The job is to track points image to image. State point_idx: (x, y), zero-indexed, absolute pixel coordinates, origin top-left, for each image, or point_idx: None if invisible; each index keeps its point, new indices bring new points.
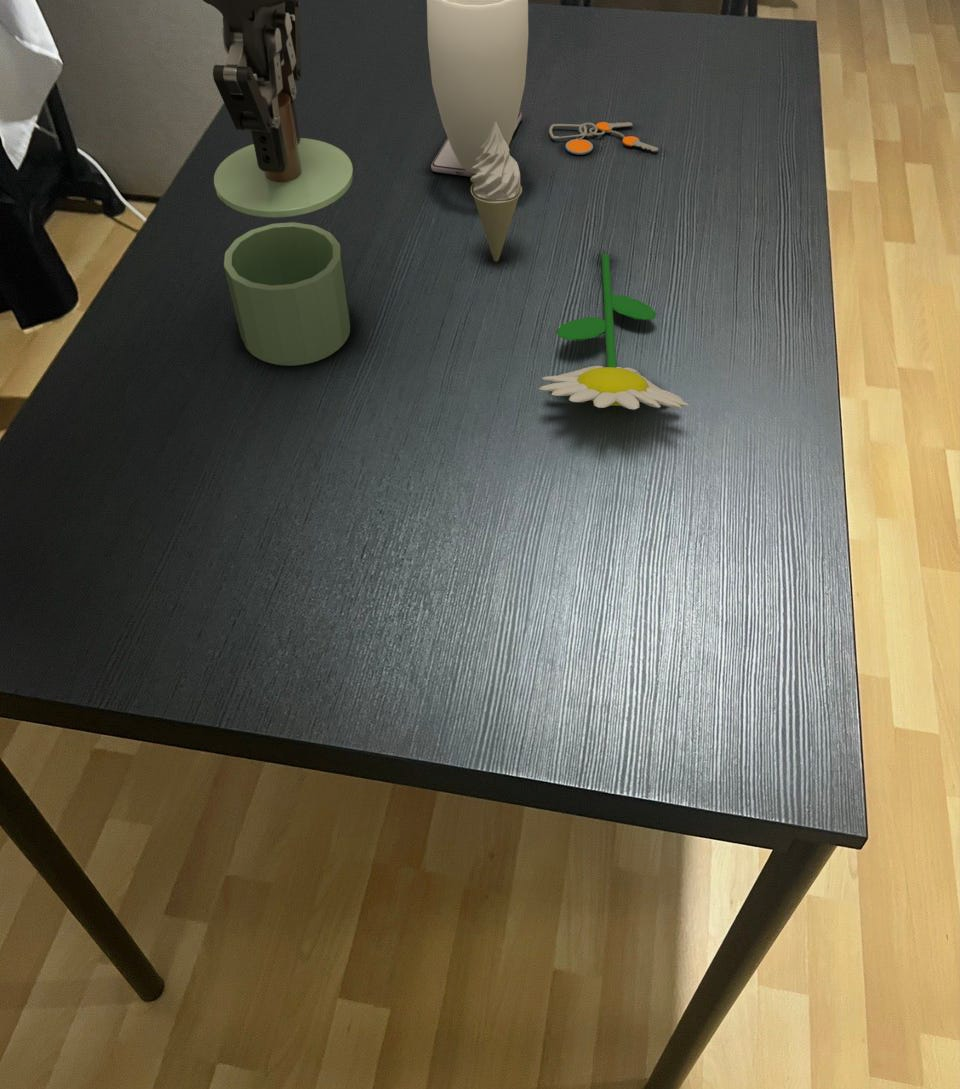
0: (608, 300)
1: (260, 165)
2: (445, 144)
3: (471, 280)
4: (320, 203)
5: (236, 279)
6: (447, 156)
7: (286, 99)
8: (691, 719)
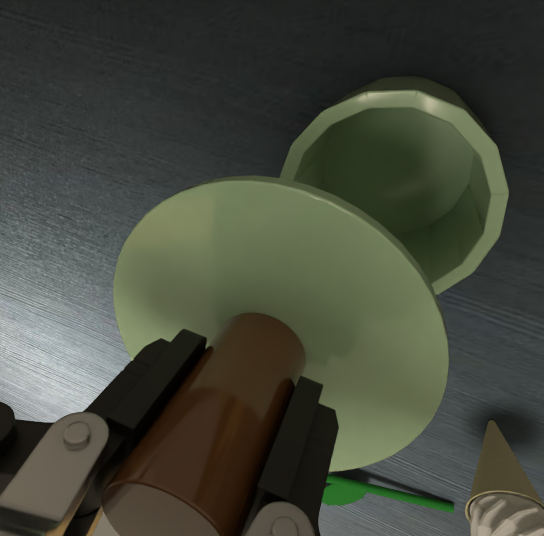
0: (348, 486)
1: (152, 343)
2: None
3: (455, 387)
4: None
5: (314, 122)
6: None
7: None
8: (2, 369)
